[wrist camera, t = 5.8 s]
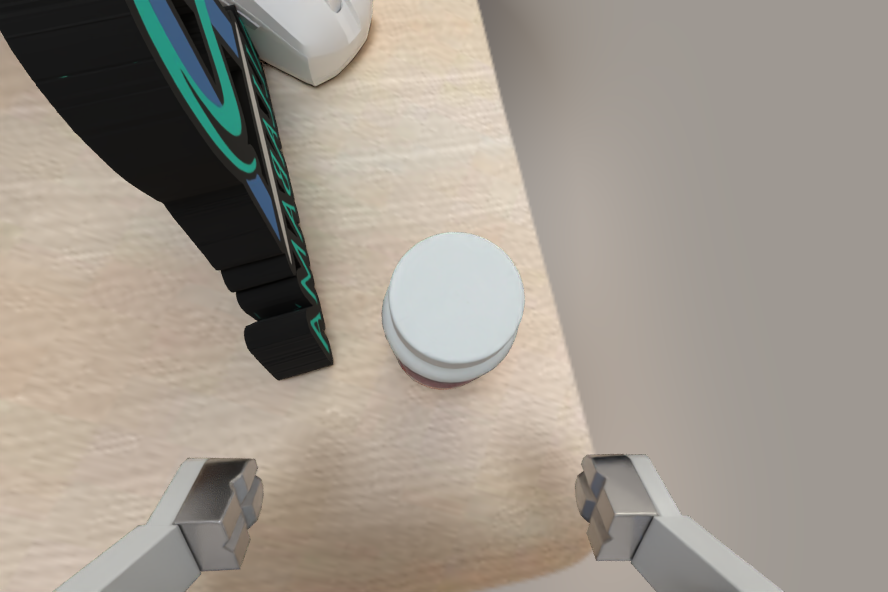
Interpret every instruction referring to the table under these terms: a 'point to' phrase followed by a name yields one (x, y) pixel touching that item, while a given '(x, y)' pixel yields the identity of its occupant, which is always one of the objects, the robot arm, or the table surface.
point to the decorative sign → (186, 143)
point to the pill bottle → (452, 309)
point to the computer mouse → (306, 34)
